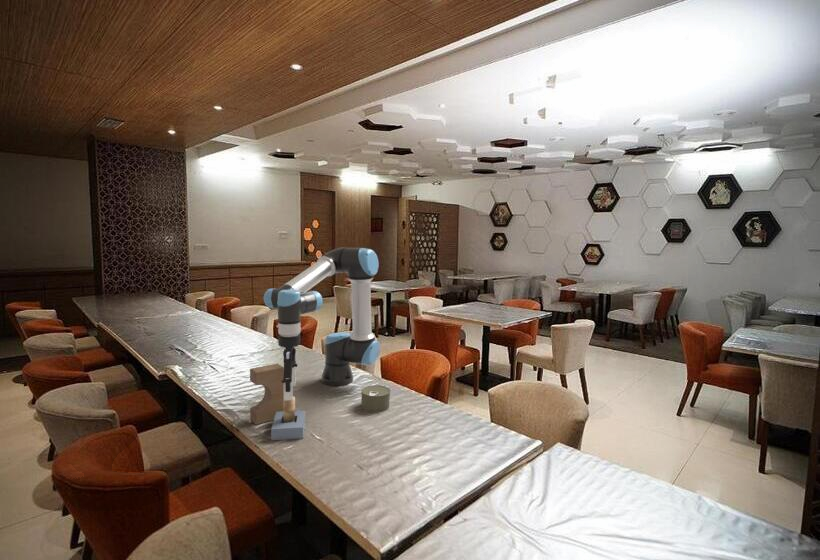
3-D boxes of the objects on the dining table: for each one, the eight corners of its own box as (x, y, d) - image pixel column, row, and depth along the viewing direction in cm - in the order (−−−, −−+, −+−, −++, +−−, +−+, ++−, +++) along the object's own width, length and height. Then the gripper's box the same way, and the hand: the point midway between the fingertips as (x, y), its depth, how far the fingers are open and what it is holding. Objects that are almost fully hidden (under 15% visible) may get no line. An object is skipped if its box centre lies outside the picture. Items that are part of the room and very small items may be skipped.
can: (393, 403, 176) (394, 387, 175) (384, 414, 164) (384, 397, 164) (367, 399, 179) (367, 383, 178) (356, 410, 167) (356, 393, 167)
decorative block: (255, 425, 151) (254, 372, 149) (249, 419, 155) (249, 368, 153) (284, 417, 158) (284, 366, 156) (278, 412, 163) (278, 363, 160)
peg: (295, 427, 151) (295, 395, 150) (294, 432, 147) (294, 399, 146) (283, 427, 150) (283, 395, 149) (282, 432, 146) (282, 400, 145)
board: (305, 420, 156) (305, 410, 156) (303, 438, 143) (303, 427, 142) (276, 421, 154) (276, 411, 154) (271, 440, 141) (271, 429, 140)
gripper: (282, 325, 156) (282, 379, 159) (273, 344, 132) (274, 407, 135) (302, 325, 158) (303, 378, 160) (297, 343, 133) (298, 406, 136)
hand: (290, 392), depth 147 cm, fingers open, 13 cm apart
